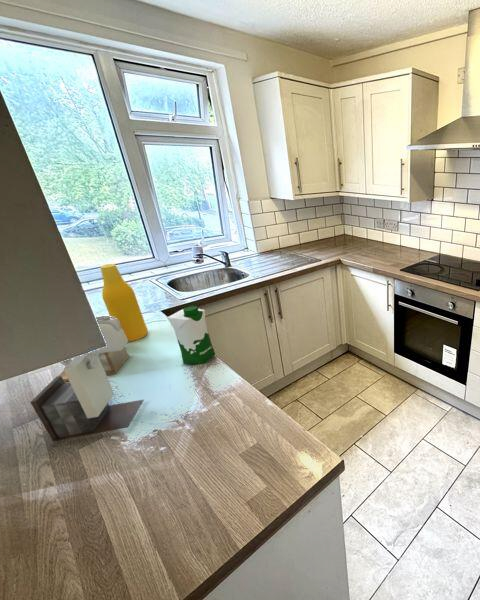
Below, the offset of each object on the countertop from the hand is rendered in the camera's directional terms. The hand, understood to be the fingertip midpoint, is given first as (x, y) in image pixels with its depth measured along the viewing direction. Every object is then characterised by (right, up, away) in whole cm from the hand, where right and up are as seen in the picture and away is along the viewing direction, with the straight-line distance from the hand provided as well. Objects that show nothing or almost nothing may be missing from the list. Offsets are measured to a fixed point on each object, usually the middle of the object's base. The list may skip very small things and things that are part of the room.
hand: (84, 369), depth 81 cm
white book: (0, -11, +5) cm, 12 cm away
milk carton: (+8, -4, +33) cm, 35 cm away
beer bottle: (-26, +3, +47) cm, 54 cm away
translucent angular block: (-24, -6, +28) cm, 37 cm away
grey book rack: (-1, -15, +7) cm, 17 cm away
